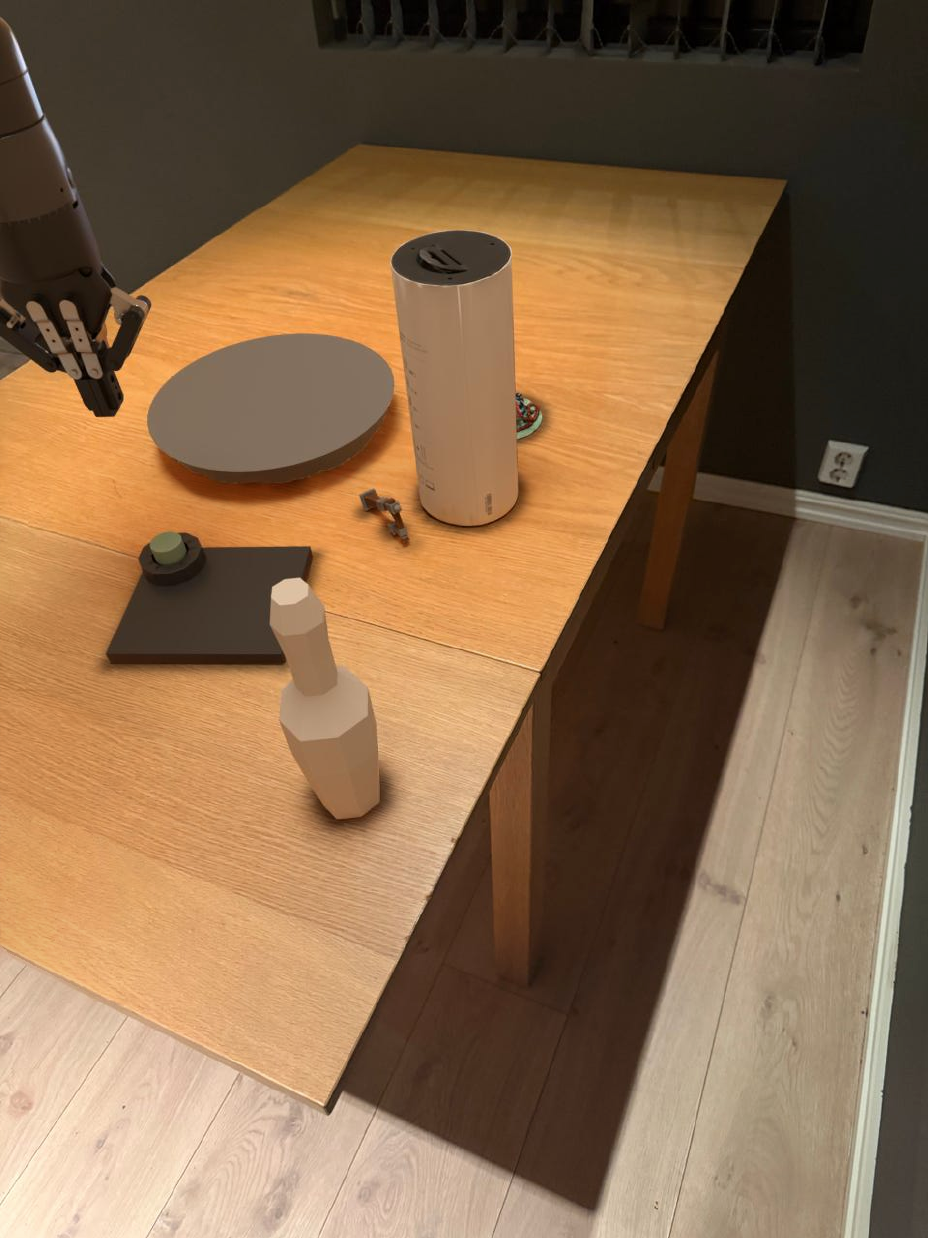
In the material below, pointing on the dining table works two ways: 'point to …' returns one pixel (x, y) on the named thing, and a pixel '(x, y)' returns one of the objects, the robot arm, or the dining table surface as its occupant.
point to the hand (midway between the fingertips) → (109, 411)
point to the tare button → (168, 548)
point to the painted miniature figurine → (526, 416)
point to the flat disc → (272, 408)
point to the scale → (206, 606)
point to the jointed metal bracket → (372, 500)
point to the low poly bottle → (324, 707)
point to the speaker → (459, 371)
